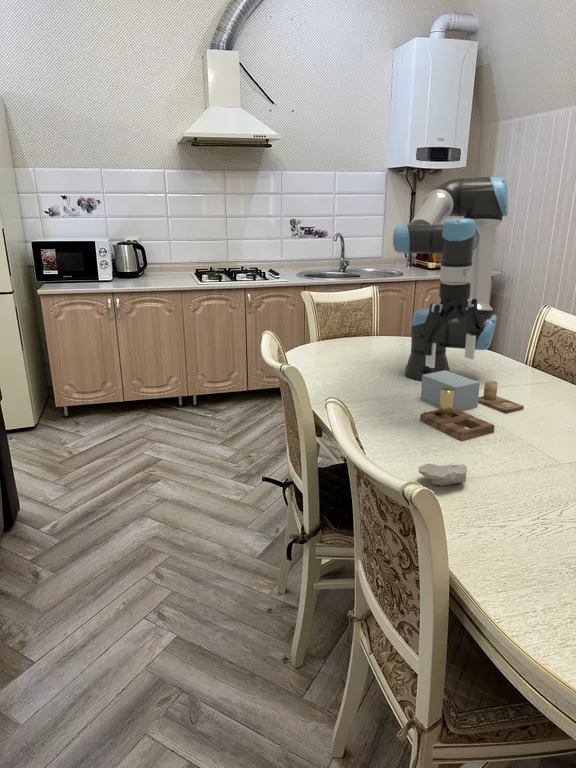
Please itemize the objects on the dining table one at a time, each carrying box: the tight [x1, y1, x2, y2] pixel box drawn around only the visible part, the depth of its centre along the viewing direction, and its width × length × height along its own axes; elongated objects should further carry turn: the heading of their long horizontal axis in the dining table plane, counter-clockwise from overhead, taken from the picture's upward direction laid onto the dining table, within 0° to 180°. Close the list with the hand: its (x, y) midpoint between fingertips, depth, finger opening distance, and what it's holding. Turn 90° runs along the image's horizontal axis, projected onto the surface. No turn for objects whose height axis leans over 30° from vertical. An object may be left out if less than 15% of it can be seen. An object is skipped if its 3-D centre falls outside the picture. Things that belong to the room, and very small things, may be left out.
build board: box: [419, 408, 495, 442], centre depth 148 cm, size 16×11×2 cm
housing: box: [420, 370, 481, 412], centre depth 164 cm, size 14×9×8 cm, turn 27°
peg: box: [438, 388, 455, 419], centre depth 150 cm, size 4×4×9 cm
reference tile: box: [478, 380, 525, 414], centre depth 162 cm, size 12×7×6 cm, turn 27°
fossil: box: [418, 463, 468, 487], centre depth 118 cm, size 9×6×10 cm
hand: (450, 362), depth 147 cm, fingers open, 13 cm apart
